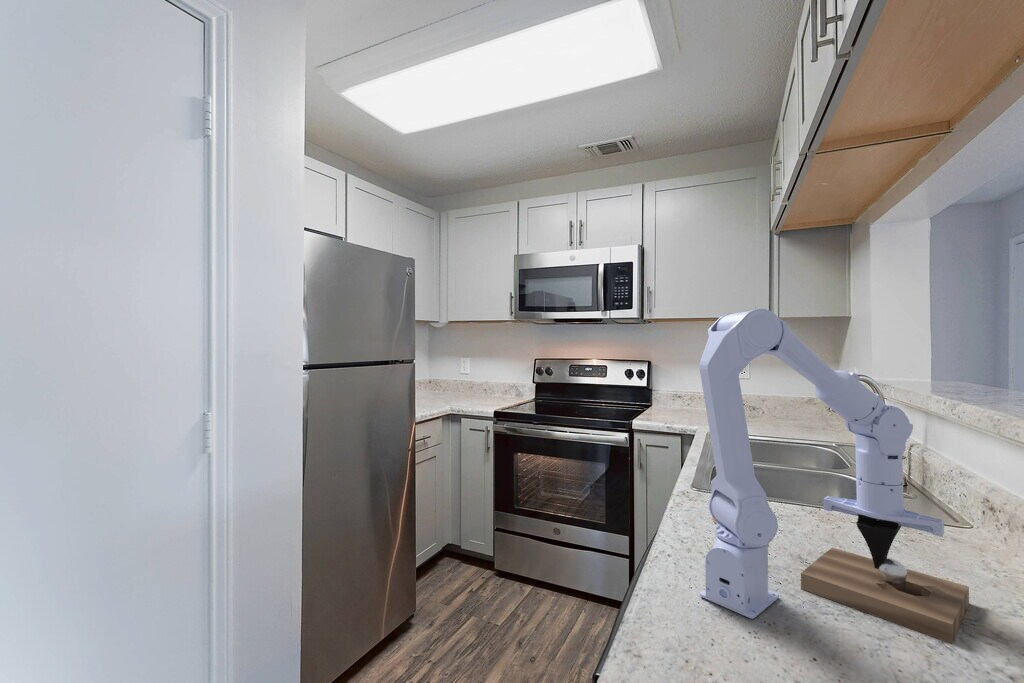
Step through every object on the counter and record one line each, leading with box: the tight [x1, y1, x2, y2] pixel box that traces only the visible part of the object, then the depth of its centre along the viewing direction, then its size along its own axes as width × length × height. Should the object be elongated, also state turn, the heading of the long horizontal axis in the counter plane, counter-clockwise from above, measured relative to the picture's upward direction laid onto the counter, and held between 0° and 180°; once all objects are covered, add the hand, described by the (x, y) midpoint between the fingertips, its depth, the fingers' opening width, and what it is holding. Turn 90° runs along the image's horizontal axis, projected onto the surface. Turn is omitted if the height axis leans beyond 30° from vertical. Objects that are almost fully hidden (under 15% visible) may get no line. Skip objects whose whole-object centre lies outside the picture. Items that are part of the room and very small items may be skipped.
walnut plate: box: [800, 547, 970, 645], centre depth 71 cm, size 15×18×2 cm
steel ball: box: [878, 557, 907, 584], centre depth 70 cm, size 4×4×4 cm
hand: (881, 567), depth 71 cm, fingers closed, pressing on steel ball
